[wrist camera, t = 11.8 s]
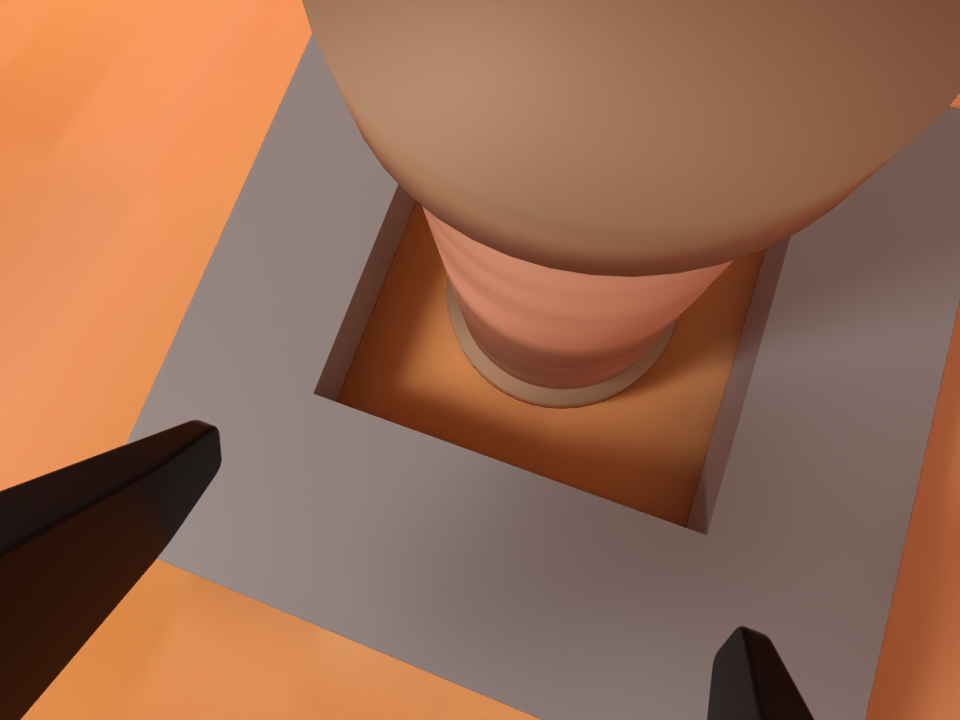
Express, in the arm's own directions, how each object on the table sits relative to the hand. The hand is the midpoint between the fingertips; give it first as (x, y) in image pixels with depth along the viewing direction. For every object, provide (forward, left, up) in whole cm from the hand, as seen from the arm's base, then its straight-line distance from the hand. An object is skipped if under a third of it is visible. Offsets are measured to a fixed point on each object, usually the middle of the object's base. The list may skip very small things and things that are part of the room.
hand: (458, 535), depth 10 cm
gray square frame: (+3, -5, -8) cm, 9 cm away
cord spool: (+3, -6, -8) cm, 10 cm away
